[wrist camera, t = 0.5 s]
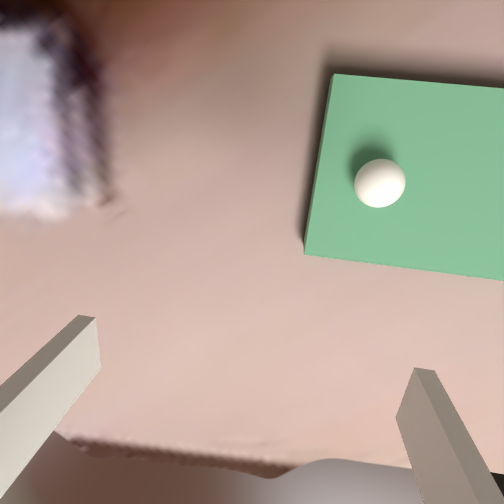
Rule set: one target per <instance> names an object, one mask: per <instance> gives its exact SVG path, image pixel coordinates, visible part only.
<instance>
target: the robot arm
mask: <svg viewBox="0 0 504 504" xmlns="http://www.w3.org/2000/svg"><path fill="white" fill-rule="evenodd" d="M100 369H101V362H100V353H99V344H98V335H97V327H96V318H95V317H88V316H82V315H78V316H77V317H76V318H74V319H73V320H72V321H71V322H70V323H69V324H68V325H67V326H66V327H65V328H63V329H62V330H61V331H60V332H59V333H58V334H57V335H56V336H55V337H54V338H52V339H51V340H50V341H49V342H48V343H47V344H46V345H45V346H44V347H43V348H41V349H40V350H39V351H38V352H37V353H36V354H35V355H34V356H33V357H32V358H30V359H29V360H28V361H27V362H26V363H25V364H24V365H23V366H22V367H21V368H19V369H18V370H17V371H16V372H15V373H14V374H13V375H12V376H11V377H10V378H8V379H7V380H6V381H5V382H4V383H3V384H2V385H1V386H0V498H1V497H2V496H3V494H4V493H5V492H6V491H7V489H8V488H9V487H10V485H11V484H12V483H13V482H14V480H15V479H16V478H17V476H18V475H19V474H20V472H21V471H22V470H23V469H24V467H25V466H26V465H27V464H28V462H29V461H30V460H31V458H32V457H33V456H34V454H35V453H36V452H37V451H38V449H39V448H40V447H41V445H42V444H43V443H44V441H45V440H46V439H47V438H48V436H49V435H50V434H51V432H52V431H53V430H54V429H55V427H56V426H57V425H58V423H59V422H60V421H61V420H62V418H63V417H64V416H65V414H66V413H67V412H68V411H69V409H70V408H71V407H72V405H73V404H74V403H75V401H76V400H77V399H78V398H79V396H80V395H81V394H82V392H83V391H84V390H85V389H86V387H87V386H88V385H89V383H90V382H91V381H92V380H93V378H94V377H95V376H96V374H97V373H98V372H99V370H100ZM396 421H397V424H398V427H399V430H400V433H401V436H402V439H403V442H404V445H405V448H406V451H407V454H408V457H409V460H410V463H411V466H412V469H413V472H414V475H415V478H416V480H417V484H418V487H419V490H420V492H421V495H422V499H423V502H424V504H504V474H498V473H492V472H490V471H489V469H488V467H487V466H486V464H485V462H484V460H483V458H482V456H481V455H480V453H479V451H478V449H477V447H476V445H475V444H474V442H473V440H472V438H471V436H470V435H469V433H468V431H467V429H466V427H465V425H464V424H463V422H462V420H461V418H460V416H459V414H458V413H457V411H456V409H455V407H454V405H453V404H452V402H451V400H450V398H449V396H448V394H447V393H446V391H445V389H444V387H443V385H442V383H441V382H440V380H439V378H438V376H437V374H436V373H435V371H434V370H427V369H421V368H415V367H414V370H413V372H412V375H411V378H410V380H409V383H408V386H407V388H406V391H405V394H404V396H403V399H402V402H401V405H400V407H399V410H398V413H397V415H396Z"/></svg>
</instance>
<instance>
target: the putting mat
mask: <svg viewBox="0 0 504 504" xmlns="http://www.w3.org/2000/svg"><path fill="white" fill-rule="evenodd" d="M375 159H388V160H391V161H393V162H395V163H397V164H398V165H399V166H400V167H401V168H402V170H403V172H404V175H405V180H406V182H405V188H404V191H403V193H402V195H401V196H400V197H399V199H398V200H397V201H395V202H394V203H392V204H391V205H388V206H385V207H380V208H376V207H370V206H368V205H366V204H364V203H363V202H362V201H360V199H359V198H358V197H357V195H356V193H355V189H354V181H355V177H356V175H357V173H358V171H359V170H360V168H361V167H362V166H364V165H365V164H366V163H368V162H370V161H372V160H375ZM303 246H304V255H311V256H319V257H327V258H334V259H342V260H349V261H357V262H365V263H372V264H380V265H387V266H395V267H403V268H410V269H418V270H425V271H433V272H441V273H448V274H456V275H464V276H471V277H479V278H486V279H494V280H502V281H504V88H492V87H481V86H469V85H458V84H446V83H435V82H424V81H412V80H401V79H389V78H378V77H366V76H355V75H344V74H334V75H333V76H332V77H331V78H330V84H329V90H328V96H327V103H326V109H325V115H324V121H323V127H322V133H321V139H320V145H319V152H318V158H317V164H316V170H315V176H314V182H313V188H312V194H311V201H310V207H309V213H308V219H307V225H306V231H305V237H304V243H303Z"/></svg>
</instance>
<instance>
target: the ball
mask: <svg viewBox="0 0 504 504" xmlns="http://www.w3.org/2000/svg"><path fill="white" fill-rule="evenodd" d="M405 182H406V180H405V175H404V172H403V170H402V168H401V167H400V166H399V165H398V164H397V163H395V162H393V161H391V160H388V159H375V160H372V161H370V162H368V163H366V164H365V165H364V166H362V167H361V168H360V170H359V171H358V173H357V175H356V177H355V181H354V189H355V193H356V195H357V197H358V198H359V199H360V201H362V202H363V203H364V204H366V205H368V206H370V207H376V208H380V207H385V206H388V205H391V204H392V203H394V202H395V201H397V200H398V199H399V197H400V196H401V195H402V193H403V191H404V188H405Z"/></svg>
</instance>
